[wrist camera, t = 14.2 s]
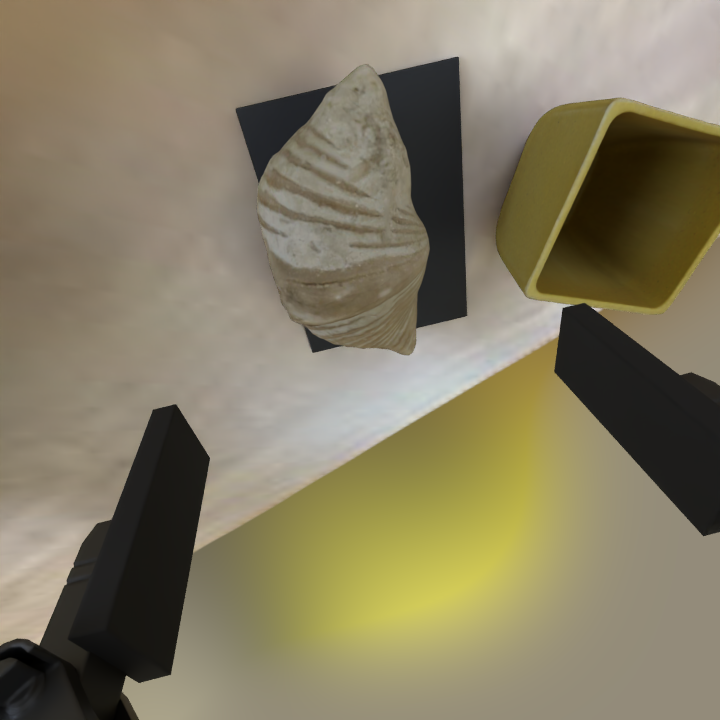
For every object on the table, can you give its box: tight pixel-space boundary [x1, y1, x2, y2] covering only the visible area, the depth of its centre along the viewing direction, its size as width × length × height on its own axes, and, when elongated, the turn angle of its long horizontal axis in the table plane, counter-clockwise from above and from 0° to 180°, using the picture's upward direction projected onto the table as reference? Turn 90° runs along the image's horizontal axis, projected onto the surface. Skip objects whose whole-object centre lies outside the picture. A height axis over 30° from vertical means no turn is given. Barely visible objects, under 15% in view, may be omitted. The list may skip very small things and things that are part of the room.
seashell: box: [257, 64, 430, 355], centre depth 23 cm, size 14×9×10 cm
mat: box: [236, 57, 467, 353], centre depth 26 cm, size 12×16×1 cm
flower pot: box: [496, 98, 720, 315], centre depth 23 cm, size 9×9×9 cm
